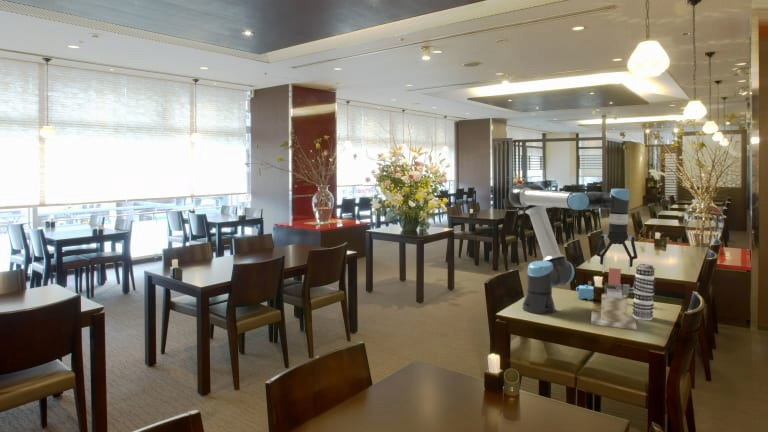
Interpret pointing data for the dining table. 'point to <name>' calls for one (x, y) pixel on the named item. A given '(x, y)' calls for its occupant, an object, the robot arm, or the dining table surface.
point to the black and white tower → (644, 292)
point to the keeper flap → (614, 277)
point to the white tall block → (614, 293)
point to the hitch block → (613, 312)
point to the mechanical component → (626, 289)
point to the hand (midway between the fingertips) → (615, 272)
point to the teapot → (585, 292)
